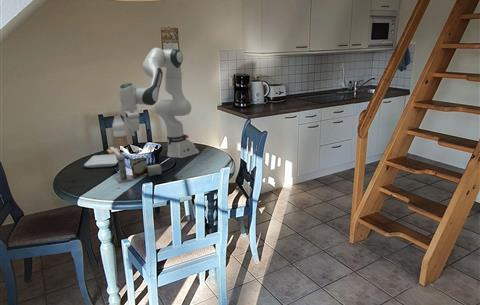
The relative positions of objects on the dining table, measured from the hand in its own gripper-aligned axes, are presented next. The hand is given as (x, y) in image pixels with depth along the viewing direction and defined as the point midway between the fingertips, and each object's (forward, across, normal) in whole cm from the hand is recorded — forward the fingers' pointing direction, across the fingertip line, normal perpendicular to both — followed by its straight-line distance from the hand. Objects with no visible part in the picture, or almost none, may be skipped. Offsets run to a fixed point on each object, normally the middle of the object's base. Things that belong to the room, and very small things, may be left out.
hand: (132, 135), depth 217 cm
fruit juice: (+25, -59, +5) cm, 64 cm away
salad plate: (+26, -37, -12) cm, 47 cm away
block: (+25, +3, +9) cm, 27 cm away
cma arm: (+12, -8, -9) cm, 17 cm away
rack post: (+25, +2, -9) cm, 27 cm away
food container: (+25, 0, 0) cm, 25 cm away
